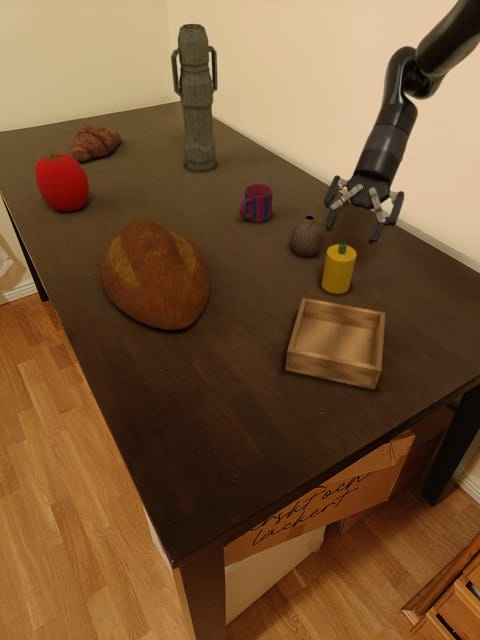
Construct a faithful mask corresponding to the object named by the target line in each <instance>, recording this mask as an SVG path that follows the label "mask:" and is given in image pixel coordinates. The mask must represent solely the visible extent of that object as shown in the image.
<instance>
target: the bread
mask: <svg viewBox="0 0 480 640" xmlns="http://www.w3.org/2000/svg"><path fill="white" fill-rule="evenodd" d="M99 267H100V269H99V278H100V282H101V284H102V287H103V291H104V292H105V293H106V295H107V297H108V299H109V300H110V301H111V302H112V303H113V304H114V305H115V306H116V307H117V308H119V309H120V310H121V311H123V313H125V315H128V316H129V317H131V318H132V319H134V320H135V321H137V322H139V323H142V324H145V325H147V326H149V327H151V328H157V329H161V330H164V331H170V330H173V331H175V330H176V331H177V330H185V329H188V328H189V327H191V325H193V324H194V323H195V322H196V320H197V319H198V318H200V316H201V314H202V313H203V312H204V310H205V307H206V305H207V302H209V296H210V292H211V269H210V268H209V266H208V264H207V262H206V260H205V258H204V256H203V255H202V253H201V252H200V250H198V248H197V247H196V245H194V244H193V242H192V241H191V240H190V239H189V238H188V237H185V236H184V235H183V234H181V233H179V232H177V231H176V230H173V229H172V228H170V227H168V226H165V225H163V224H160V223H157V222H156V221H154V220H151V219H149V218H138V219H134V220H132V221H131V222H129V223H128V224H127V225H125V226H124V227H123V228H122V229H121V230H120V231H119V232H118V233H117V234H115V236H114V237H112V239H111V241H110V243H109V244H108V246H107V247H106V250H105V251H104V253H103V254H102V257H101V262H100V266H99Z"/></svg>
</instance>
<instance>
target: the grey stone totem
mask: <svg viewBox="0 0 480 640" xmlns="http://www.w3.org/2000/svg"><path fill="white" fill-rule="evenodd" d="M210 55H211V69H210V66H209V63H210ZM177 58H178V59H179V64H180V68H179V70H178V62H177V61H178V59H177ZM170 61H171V72H172V82H173V83H172V84H173V92H174V93H175V94H176V95H177V96H179V100H180V104H181V106H182V113H183V124H184V125H183V126H184V136H185V138H184V143H183V147H184V157H185V160H186V168H187V169H188V170H190V171H192V172H207V171H208V172H209V171H211V170H212V169H214V168H216V157H217V155H216V142H215V138H214V129H213V106H212V105H213V103H214V94H215V92H216V91H218V83H219V82H218V53H217V51H216V49H215V48H214V46H212V45H209V38H208V34H207V31H206V28H205V26H204V25H203V26H202V24H199V23H186V24H183V25H182V26H180V27H179V31H178V36H177V48H176V49H174V50H172V53H171V55H170ZM210 70H211V71H210ZM179 71H180V72H179ZM178 72H179V73H178Z"/></svg>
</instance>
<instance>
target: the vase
mask: <svg viewBox="0 0 480 640" xmlns="http://www.w3.org/2000/svg"><path fill="white" fill-rule="evenodd" d="M323 241H324V233H323V228H322V226H321V225H320V223H319V222H318V221H317V219H316V216H315V215H313V214H305V215H303V217H302V218H301V220H300V221H298V222H297V223H296V224H295V225H294V226H293V229H292V231H291V236H290V244H291V248H292V250H293V251H294V253H296V254H297V255H298V256H300V257H302V258H303V257H304V258H309V257H312V256H314V255H315V254H317V253H319V251H320V249H321V247H322V245H323Z"/></svg>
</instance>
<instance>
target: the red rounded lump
mask: <svg viewBox="0 0 480 640" xmlns="http://www.w3.org/2000/svg"><path fill="white" fill-rule="evenodd" d="M68 154H69V153H68ZM68 154H67V153H63V152H61V153H53V152H52V153H50V154H49V155H45V156H42V157H40V158H39V160H38V161H37V162H36V164H35V167H34V169H35V171H34V174H35V180H36V184H37V187H38V190H39V192H40V194H41V196H42V198H43V199H44V201H45V202H47V204H48V205H49V206H50V207H51V208H53V209H55V210H57V211H60V212H67V213H69V212H75V211H78V210H80V209H82V208H83V207H84V206H85V205H86V203H87V201H88V198H89V193H90V192H89V191H90V185H89V184H90V183H89V179H88V176H87V173H86V172H85V170H84V168H83V167H82V165H81V164H80V162H78V161H77V160H76V159H75V158H73V157H71V156H70V155H68Z"/></svg>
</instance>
